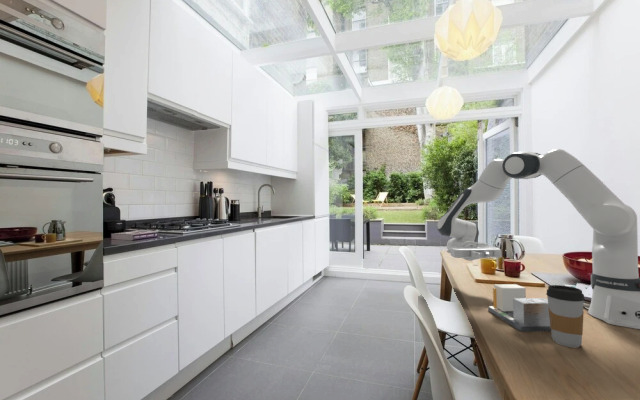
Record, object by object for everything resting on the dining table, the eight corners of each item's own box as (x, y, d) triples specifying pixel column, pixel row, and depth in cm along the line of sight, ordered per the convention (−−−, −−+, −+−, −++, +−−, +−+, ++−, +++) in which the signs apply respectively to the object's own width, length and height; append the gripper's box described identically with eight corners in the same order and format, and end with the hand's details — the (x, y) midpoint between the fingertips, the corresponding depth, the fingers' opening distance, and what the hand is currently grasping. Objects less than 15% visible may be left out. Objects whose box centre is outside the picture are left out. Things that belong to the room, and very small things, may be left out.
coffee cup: (548, 333, 89) (546, 283, 89) (585, 341, 84) (583, 287, 84) (547, 343, 82) (545, 289, 83) (587, 352, 77) (585, 294, 77)
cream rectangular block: (489, 305, 109) (488, 283, 109) (515, 305, 109) (514, 283, 109) (498, 311, 103) (497, 288, 103) (526, 311, 103) (525, 288, 103)
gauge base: (488, 310, 108) (487, 287, 109) (521, 310, 108) (520, 287, 108) (520, 331, 90) (520, 303, 91) (560, 331, 90) (559, 303, 91)
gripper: (445, 243, 136) (458, 248, 122) (490, 243, 136) (508, 247, 122) (445, 257, 136) (459, 263, 122) (490, 257, 136) (509, 262, 122)
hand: (484, 255), depth 122 cm, fingers closed
